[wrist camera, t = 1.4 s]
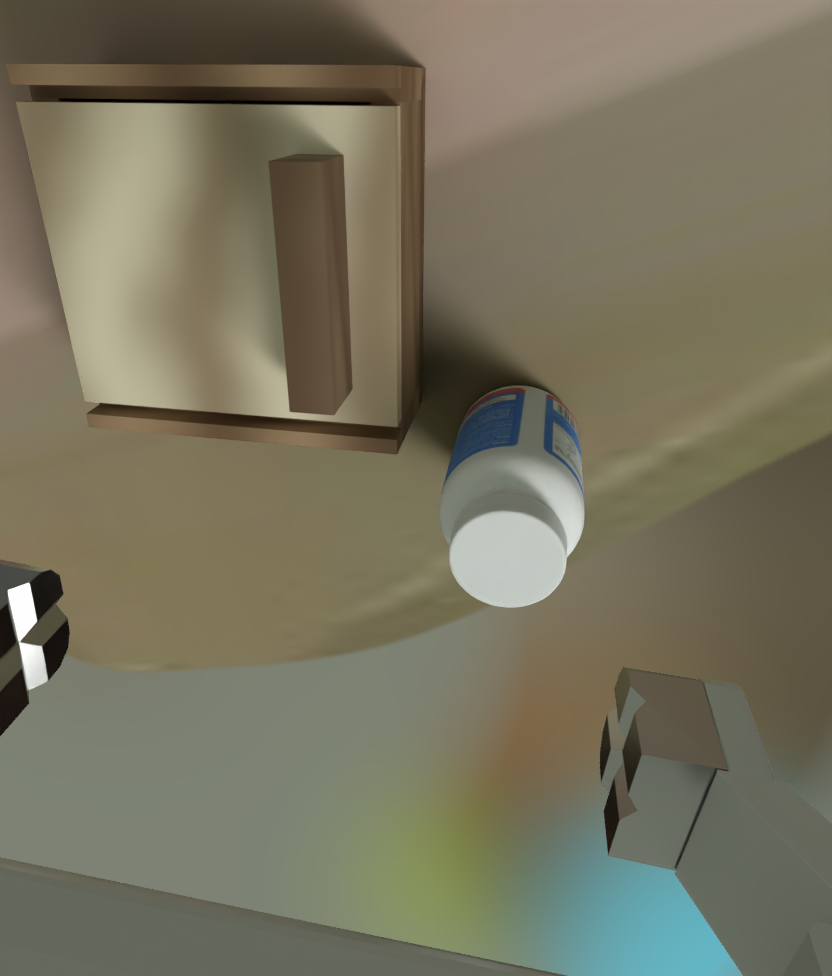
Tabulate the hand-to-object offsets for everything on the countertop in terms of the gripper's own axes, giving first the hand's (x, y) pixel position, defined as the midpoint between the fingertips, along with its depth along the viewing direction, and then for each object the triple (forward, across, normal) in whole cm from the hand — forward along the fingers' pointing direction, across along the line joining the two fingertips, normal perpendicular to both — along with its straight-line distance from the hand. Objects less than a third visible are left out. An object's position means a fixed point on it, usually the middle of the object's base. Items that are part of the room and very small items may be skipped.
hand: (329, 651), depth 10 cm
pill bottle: (+23, -3, +6) cm, 24 cm away
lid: (+18, +9, -1) cm, 20 cm away
